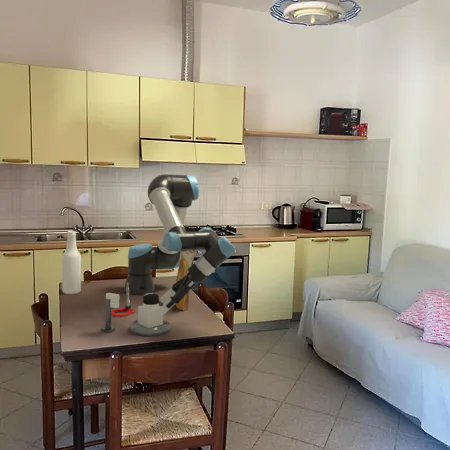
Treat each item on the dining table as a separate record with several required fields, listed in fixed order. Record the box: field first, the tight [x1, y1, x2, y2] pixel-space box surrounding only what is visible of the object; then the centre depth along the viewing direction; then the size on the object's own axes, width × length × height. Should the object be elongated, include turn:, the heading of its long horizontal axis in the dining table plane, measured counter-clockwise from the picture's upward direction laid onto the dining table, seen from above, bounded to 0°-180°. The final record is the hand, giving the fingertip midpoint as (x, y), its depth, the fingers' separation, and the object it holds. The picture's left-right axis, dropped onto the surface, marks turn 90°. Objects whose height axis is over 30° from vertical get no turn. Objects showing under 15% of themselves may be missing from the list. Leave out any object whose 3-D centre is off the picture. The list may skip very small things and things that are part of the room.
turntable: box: [129, 319, 171, 337], centre depth 182 cm, size 15×15×2 cm
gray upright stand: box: [100, 292, 120, 334], centre depth 177 cm, size 4×6×14 cm, turn 67°
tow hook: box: [111, 283, 135, 318], centre depth 199 cm, size 8×13×9 cm
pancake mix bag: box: [174, 251, 197, 311], centre depth 213 cm, size 7×19×28 cm, turn 17°
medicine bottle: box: [137, 292, 164, 329], centre depth 181 cm, size 7×7×12 cm
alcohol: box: [61, 230, 82, 295], centre depth 227 cm, size 9×9×30 cm
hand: (161, 307), depth 181 cm, fingers open, 13 cm apart
